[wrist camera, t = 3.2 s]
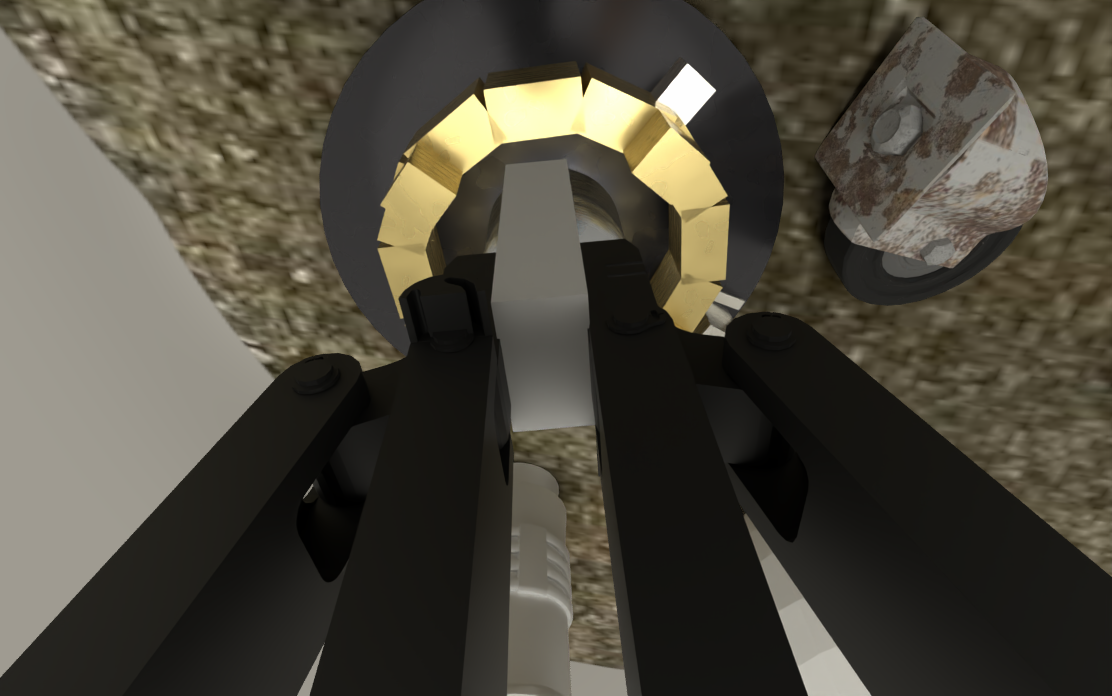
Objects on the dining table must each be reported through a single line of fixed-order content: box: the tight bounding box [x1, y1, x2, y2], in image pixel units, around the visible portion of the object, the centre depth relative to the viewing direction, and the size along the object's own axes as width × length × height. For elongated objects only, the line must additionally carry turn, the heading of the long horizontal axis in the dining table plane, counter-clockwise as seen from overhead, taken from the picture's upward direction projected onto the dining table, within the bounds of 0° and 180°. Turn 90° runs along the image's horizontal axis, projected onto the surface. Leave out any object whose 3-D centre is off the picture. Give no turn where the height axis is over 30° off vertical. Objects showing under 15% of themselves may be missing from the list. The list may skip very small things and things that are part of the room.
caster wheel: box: [815, 17, 1048, 306], centre depth 27 cm, size 7×11×10 cm
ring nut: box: [377, 57, 730, 333], centre depth 26 cm, size 15×15×6 cm
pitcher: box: [744, 513, 871, 696], centre depth 34 cm, size 19×18×25 cm
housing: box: [320, 0, 784, 356], centre depth 27 cm, size 22×22×8 cm
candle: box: [507, 463, 573, 696], centre depth 36 cm, size 7×7×15 cm
